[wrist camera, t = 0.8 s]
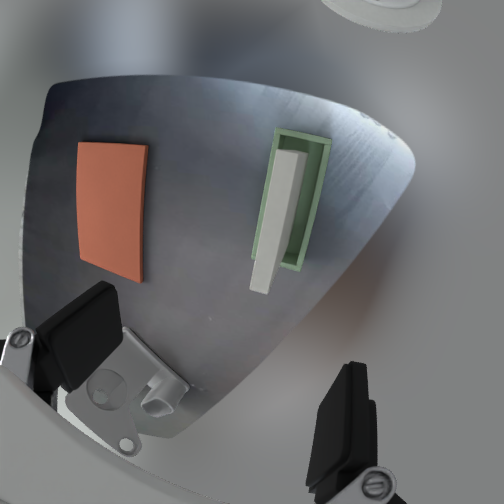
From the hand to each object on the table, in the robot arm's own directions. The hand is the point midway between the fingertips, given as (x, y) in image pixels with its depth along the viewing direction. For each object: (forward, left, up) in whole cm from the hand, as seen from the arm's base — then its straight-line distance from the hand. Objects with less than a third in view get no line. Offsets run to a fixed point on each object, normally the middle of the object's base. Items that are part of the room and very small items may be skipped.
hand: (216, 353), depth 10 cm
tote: (-2, 0, -22) cm, 22 cm away
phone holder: (+35, -20, -22) cm, 46 cm away
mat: (+5, -26, -22) cm, 35 cm away
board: (-2, 0, -22) cm, 22 cm away
